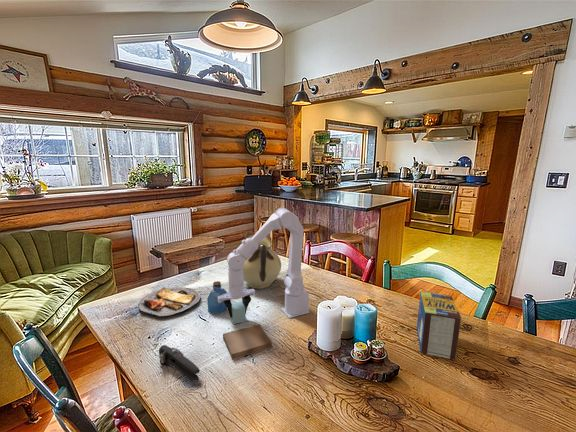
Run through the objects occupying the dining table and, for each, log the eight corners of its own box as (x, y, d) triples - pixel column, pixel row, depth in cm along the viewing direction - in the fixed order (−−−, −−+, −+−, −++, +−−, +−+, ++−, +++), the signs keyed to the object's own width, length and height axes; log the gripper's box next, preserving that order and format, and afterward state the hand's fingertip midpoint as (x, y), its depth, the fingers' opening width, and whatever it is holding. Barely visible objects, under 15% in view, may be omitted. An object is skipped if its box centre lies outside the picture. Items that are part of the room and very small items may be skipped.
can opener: (153, 363, 91) (152, 347, 90) (173, 351, 97) (172, 336, 95) (187, 389, 81) (186, 372, 80) (207, 374, 86) (206, 358, 85)
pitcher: (257, 270, 162) (256, 228, 157) (291, 281, 149) (292, 235, 143) (228, 285, 145) (225, 238, 139) (263, 299, 131) (262, 247, 125)
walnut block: (259, 329, 109) (259, 323, 108) (272, 348, 98) (272, 341, 98) (223, 339, 103) (222, 333, 102) (232, 361, 92) (231, 354, 92)
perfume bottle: (221, 313, 119) (220, 286, 116) (208, 312, 120) (206, 285, 118) (227, 306, 125) (226, 280, 122) (214, 304, 126) (213, 279, 124)
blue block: (241, 314, 117) (241, 301, 116) (245, 320, 113) (245, 307, 112) (229, 317, 115) (229, 304, 114) (233, 324, 111) (232, 310, 110)
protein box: (446, 333, 106) (451, 295, 103) (455, 361, 92) (462, 317, 88) (416, 328, 109) (420, 290, 106) (420, 354, 95) (424, 311, 92)
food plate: (126, 310, 121) (126, 302, 120) (168, 287, 142) (167, 281, 142) (172, 324, 112) (172, 316, 111) (210, 298, 133) (209, 291, 132)
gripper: (250, 275, 117) (251, 305, 120) (215, 282, 111) (216, 314, 114) (256, 282, 111) (257, 314, 114) (219, 290, 105) (221, 323, 108)
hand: (237, 314), depth 114 cm, fingers closed on blue block, 5 cm apart
